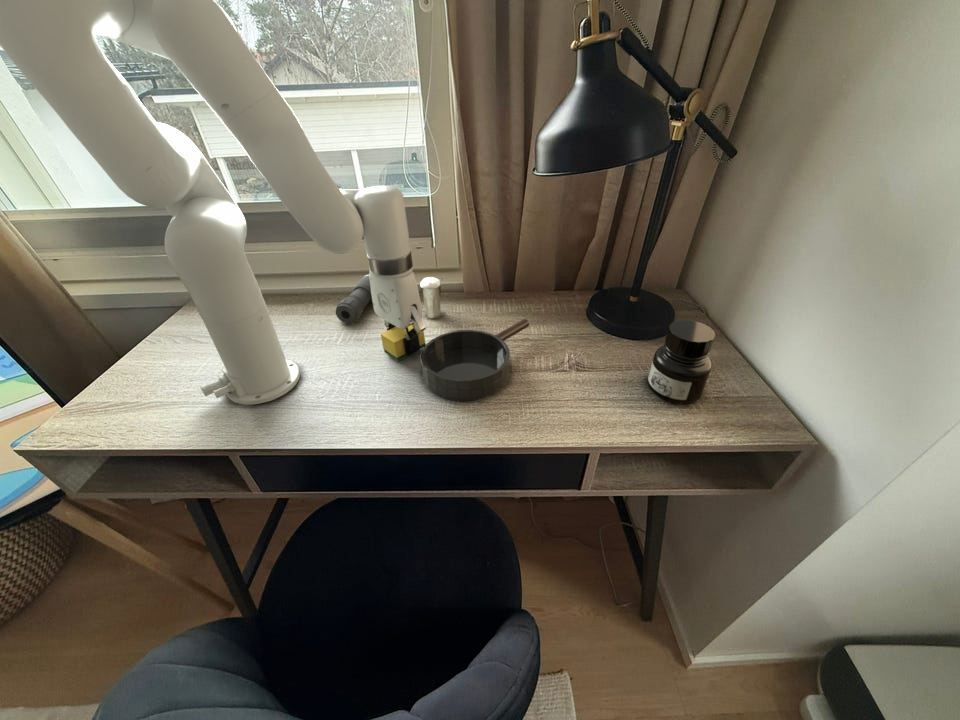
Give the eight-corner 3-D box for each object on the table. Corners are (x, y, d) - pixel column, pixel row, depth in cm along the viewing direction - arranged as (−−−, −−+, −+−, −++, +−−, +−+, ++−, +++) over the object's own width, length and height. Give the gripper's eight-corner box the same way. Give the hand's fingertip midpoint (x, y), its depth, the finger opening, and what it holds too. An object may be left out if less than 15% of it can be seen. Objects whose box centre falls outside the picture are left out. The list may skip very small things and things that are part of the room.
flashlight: (358, 326, 94) (353, 305, 91) (336, 324, 95) (330, 303, 92) (384, 295, 106) (380, 275, 103) (364, 293, 107) (360, 273, 104)
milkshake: (443, 321, 95) (440, 280, 89) (421, 319, 96) (416, 279, 90) (449, 311, 99) (446, 271, 93) (427, 309, 100) (422, 270, 94)
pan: (464, 414, 70) (462, 394, 68) (405, 373, 80) (402, 354, 77) (527, 371, 79) (528, 352, 77) (467, 339, 89) (466, 321, 86)
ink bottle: (635, 379, 77) (648, 322, 70) (673, 367, 79) (690, 311, 72) (673, 412, 69) (693, 352, 62) (714, 398, 72) (738, 339, 65)
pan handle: (498, 346, 82) (498, 338, 81) (492, 342, 83) (492, 335, 82) (529, 328, 87) (529, 320, 86) (522, 325, 88) (522, 317, 87)
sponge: (397, 361, 82) (394, 342, 79) (384, 352, 84) (380, 333, 82) (425, 346, 86) (423, 327, 83) (412, 337, 88) (409, 319, 86)
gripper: (346, 256, 77) (366, 339, 88) (402, 283, 67) (416, 373, 78) (381, 244, 81) (395, 325, 92) (438, 268, 71) (446, 356, 82)
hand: (404, 346), depth 85 cm, fingers closed on sponge, 4 cm apart
